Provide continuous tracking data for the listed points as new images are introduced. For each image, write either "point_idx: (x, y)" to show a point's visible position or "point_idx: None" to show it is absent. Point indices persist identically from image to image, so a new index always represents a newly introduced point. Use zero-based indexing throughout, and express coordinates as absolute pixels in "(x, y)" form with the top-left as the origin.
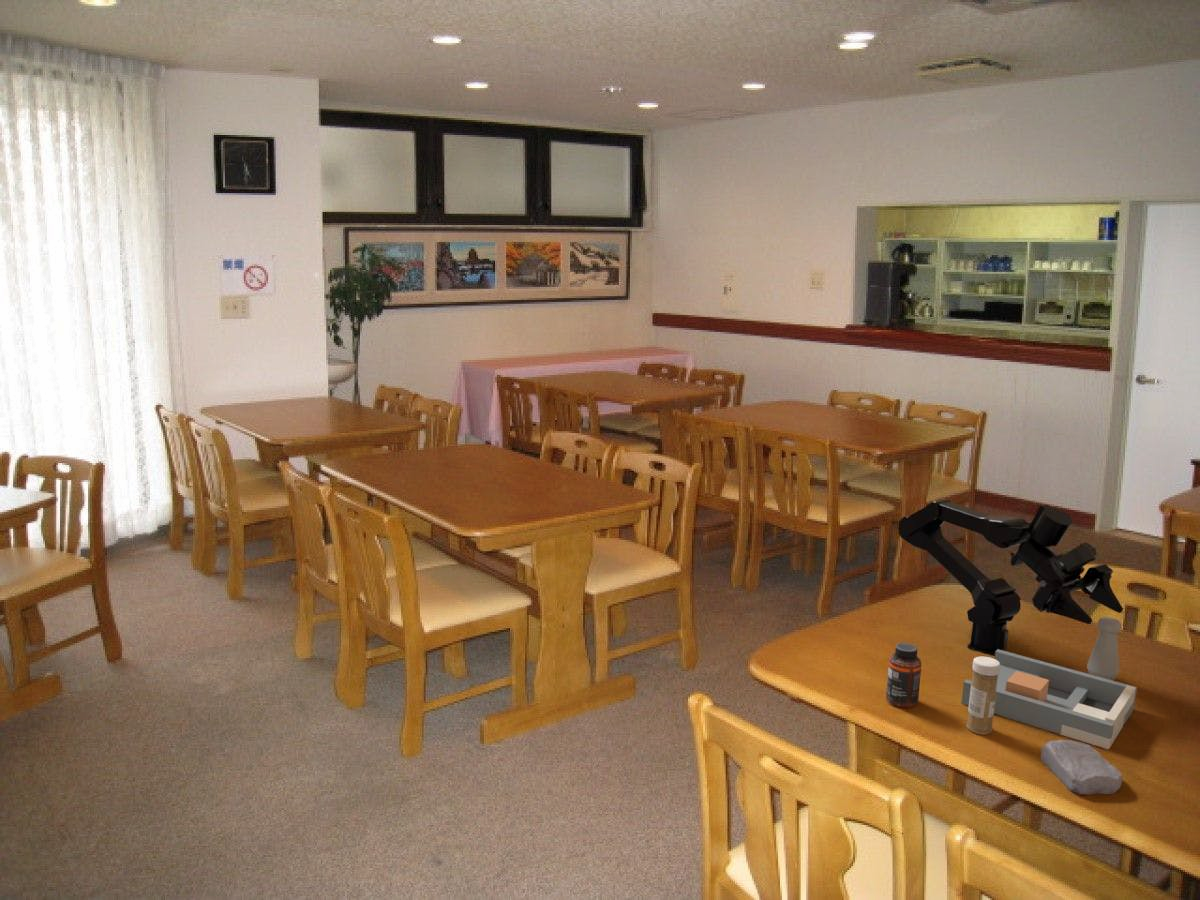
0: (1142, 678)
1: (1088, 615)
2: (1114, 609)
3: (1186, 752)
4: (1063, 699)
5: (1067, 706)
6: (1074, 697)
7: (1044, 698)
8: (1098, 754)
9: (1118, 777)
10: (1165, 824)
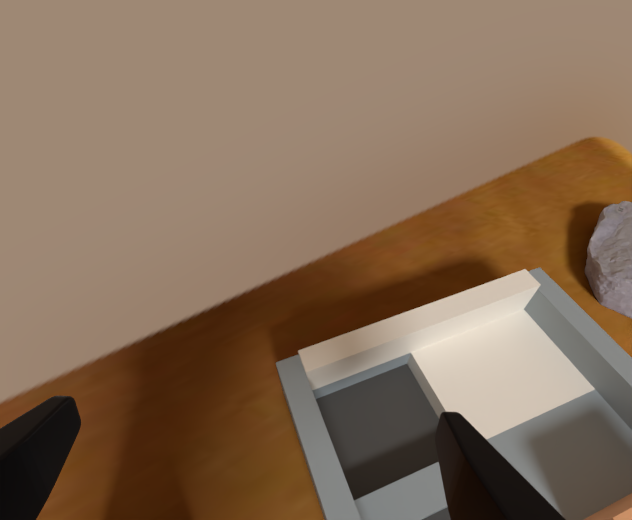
0: None
1: (464, 440)
2: (54, 472)
3: (367, 242)
4: None
5: (522, 448)
6: None
7: (601, 512)
8: (605, 260)
9: (622, 202)
10: (580, 165)
